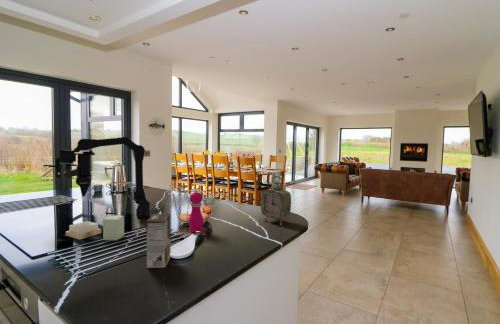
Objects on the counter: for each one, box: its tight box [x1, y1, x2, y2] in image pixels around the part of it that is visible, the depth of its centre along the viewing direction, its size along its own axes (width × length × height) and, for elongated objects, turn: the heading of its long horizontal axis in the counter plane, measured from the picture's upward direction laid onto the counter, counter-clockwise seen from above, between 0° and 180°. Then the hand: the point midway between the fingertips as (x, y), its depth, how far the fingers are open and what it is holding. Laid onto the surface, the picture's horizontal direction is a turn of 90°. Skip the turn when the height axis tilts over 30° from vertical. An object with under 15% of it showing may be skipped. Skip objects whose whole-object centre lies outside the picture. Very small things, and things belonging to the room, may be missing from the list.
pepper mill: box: [187, 188, 205, 234], centre depth 131 cm, size 7×7×20 cm
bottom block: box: [65, 227, 102, 241], centre depth 124 cm, size 10×10×2 cm
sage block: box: [102, 215, 125, 241], centre depth 120 cm, size 6×6×9 cm
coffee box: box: [146, 213, 172, 269], centre depth 96 cm, size 9×6×16 cm
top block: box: [68, 220, 99, 234], centre depth 123 cm, size 8×8×2 cm
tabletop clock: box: [260, 175, 292, 226], centre depth 147 cm, size 14×9×25 cm, turn 47°
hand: (83, 194), depth 139 cm, fingers open, 9 cm apart
